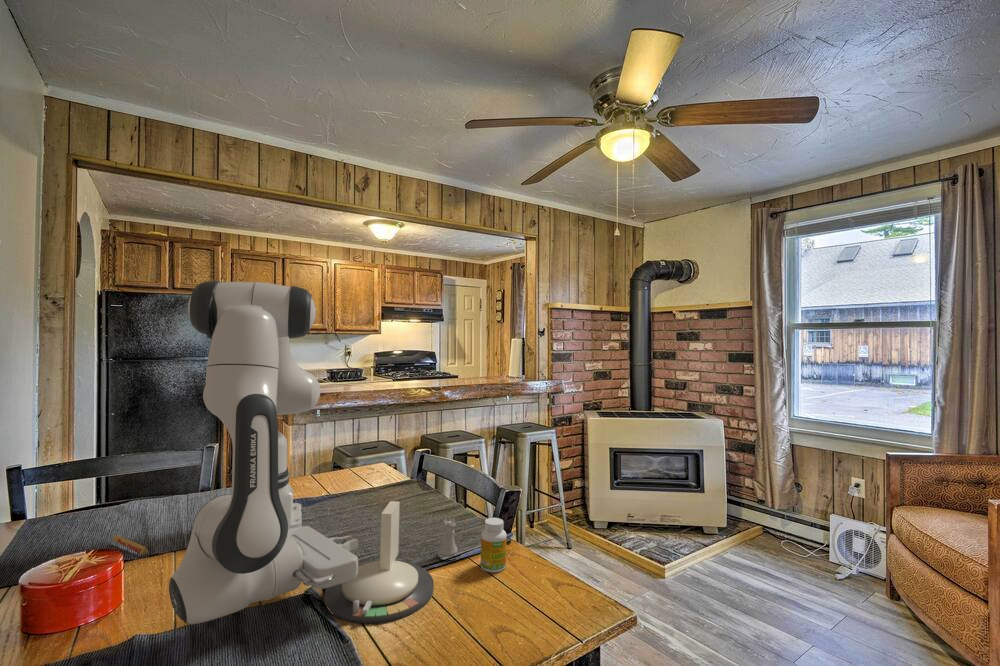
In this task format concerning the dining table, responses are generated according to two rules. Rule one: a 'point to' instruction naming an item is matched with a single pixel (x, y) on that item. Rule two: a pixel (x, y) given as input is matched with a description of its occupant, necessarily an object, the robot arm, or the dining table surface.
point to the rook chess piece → (448, 539)
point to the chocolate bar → (131, 545)
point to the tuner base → (380, 613)
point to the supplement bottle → (493, 546)
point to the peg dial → (383, 569)
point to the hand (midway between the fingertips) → (354, 541)
